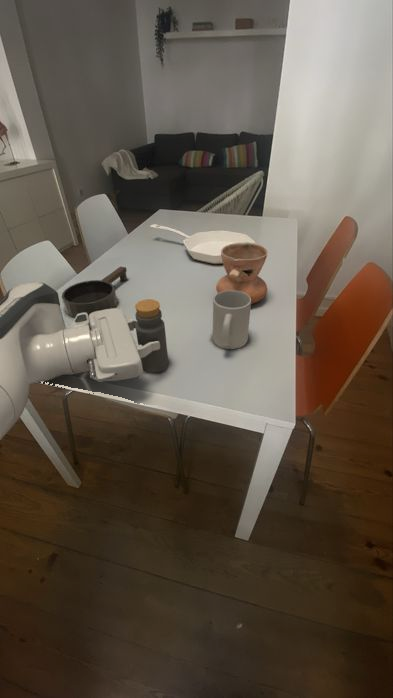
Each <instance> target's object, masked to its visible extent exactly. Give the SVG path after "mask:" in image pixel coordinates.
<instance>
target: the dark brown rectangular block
mask: <svg viewBox="0 0 393 698" xmlns="http://www.w3.org/2000/svg"><path fill="white" fill-rule="evenodd" d="M127 271H128V270H127V267H126V266H119V267H118V268H116V269H115V270H113V271H111V273H109V274H108V275H106V276H105V277H103V278H102V279H100V280H101V281H107V282H109V283H111V284H112V283H114V282H115V281H117V280H118V279H119V280H120V282H124V283H126V282H127V280H128V277H127Z"/></svg>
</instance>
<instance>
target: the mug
mask: <svg viewBox="0 0 393 698" xmlns="http://www.w3.org/2000/svg"><path fill="white" fill-rule="evenodd" d="M251 307H252V304H251V298H250V296H249V295H247V294H246V293H244V292H241V291H236V290H227V291H222V292H219V293H216V294H215V295H214V296H213V299H212V337H211V338H212V341H213V343H214V345H216V346H217V347H220V348H221V349H225V350H226V349H227V350H236V349H240V348H243V347H244V346H245V345H247V342H248V340H249V330H250V329H249V327H250V318H251Z"/></svg>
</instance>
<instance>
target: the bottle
mask: <svg viewBox="0 0 393 698" xmlns="http://www.w3.org/2000/svg"><path fill="white" fill-rule="evenodd" d="M160 305H161V304H160V302H159V301H158V300H156V299H150V298H146V299H141V300H140V301H138V302H137V303H135V305H134V308H135V311H136V312H135V315H134V317H135V319H136V320H137V321H138V322H137V323H136V328H135V333H136V340H137V345H142V346H144V345H146V344H147V343H149V340H151V339H155V338H157V339H158V341H159V343H160V349H159V350H155V351H152V352H151V353H149V354H148V355H147V356H145V357H143V358H141V362H142V368H143V371H145V372H147V373H151V374H157V373H160V372H163V371H164V370H166V369H167V368H168V366H169V358H168V357H169V355H168V346H167V345H168V344H167V336H166V335H167V334H166V326H165V321H164V320H163V319H162V318H163V317H162V315H163V313H162V310H161V309H160V307H161V306H160Z"/></svg>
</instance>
